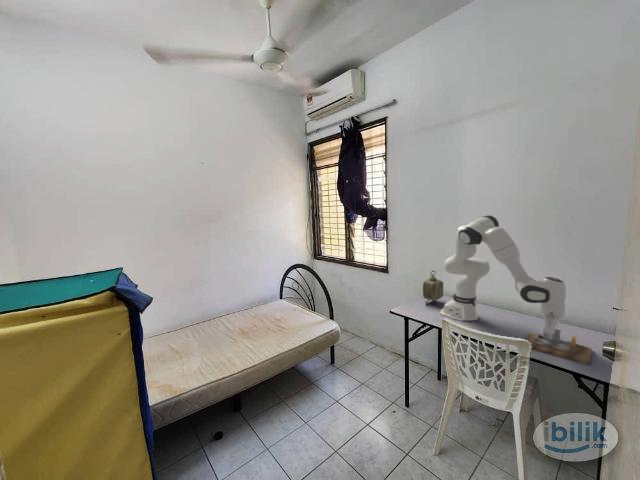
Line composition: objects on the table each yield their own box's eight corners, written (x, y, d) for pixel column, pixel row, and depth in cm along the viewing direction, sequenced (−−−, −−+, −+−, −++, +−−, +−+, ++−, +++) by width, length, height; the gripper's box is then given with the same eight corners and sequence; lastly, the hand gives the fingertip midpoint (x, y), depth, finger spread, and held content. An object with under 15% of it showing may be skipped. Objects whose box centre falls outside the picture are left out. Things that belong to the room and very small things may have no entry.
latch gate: (571, 346, 129) (571, 339, 128) (572, 342, 133) (572, 334, 132) (574, 347, 128) (575, 340, 127) (575, 342, 132) (576, 335, 132)
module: (543, 341, 133) (543, 328, 132) (543, 339, 135) (544, 326, 134) (558, 345, 129) (559, 332, 128) (559, 343, 131) (560, 330, 130)
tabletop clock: (432, 299, 208) (432, 268, 205) (444, 301, 201) (444, 269, 198) (423, 304, 199) (422, 271, 196) (434, 307, 192) (434, 273, 189)
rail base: (522, 346, 134) (523, 339, 134) (529, 335, 145) (529, 328, 144) (590, 365, 117) (590, 356, 116) (591, 350, 127) (592, 343, 127)
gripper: (558, 318, 121) (557, 346, 122) (563, 305, 134) (562, 331, 136) (540, 314, 125) (539, 342, 127) (547, 303, 139) (546, 327, 141)
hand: (551, 336), depth 132 cm, fingers closed on module, 3 cm apart
